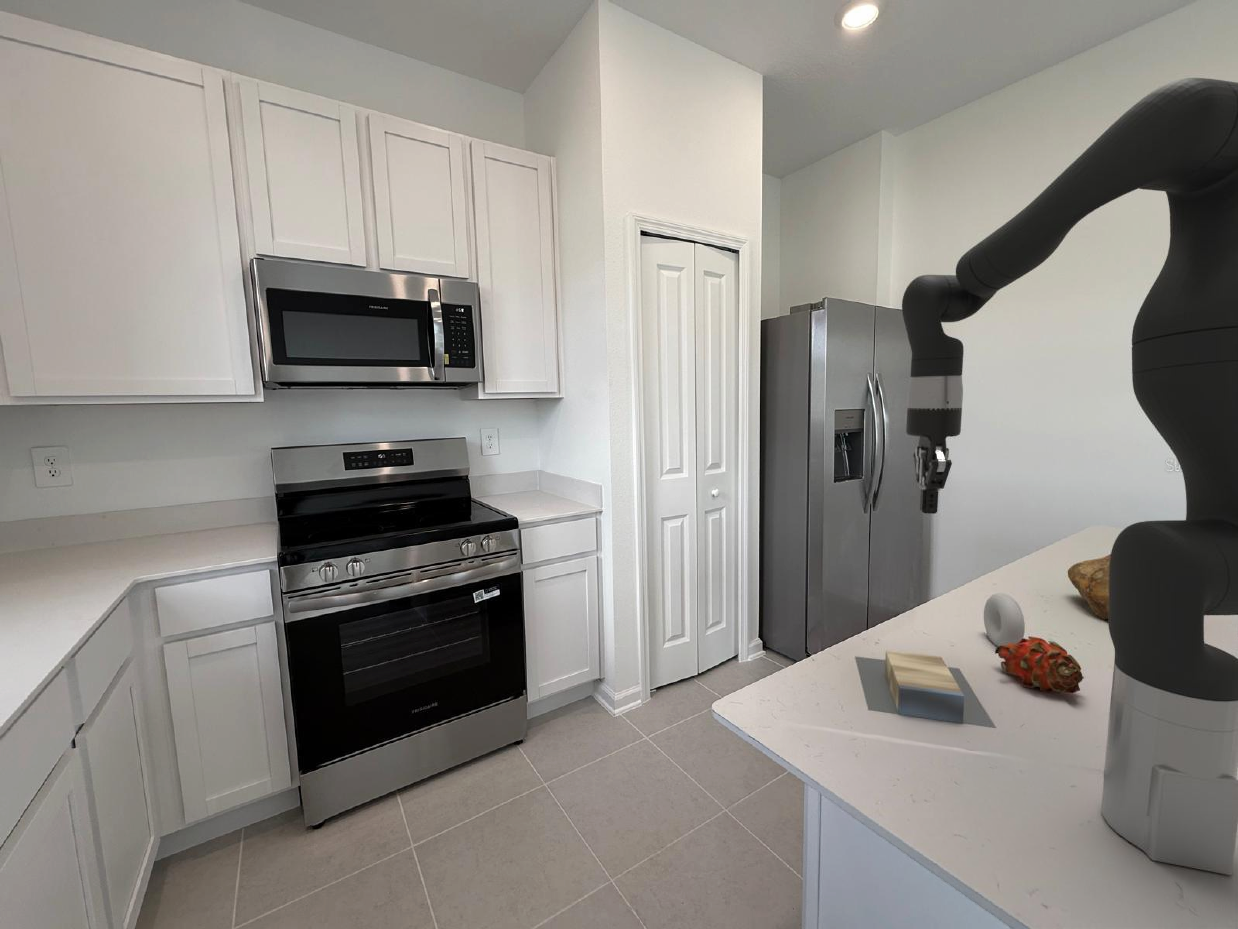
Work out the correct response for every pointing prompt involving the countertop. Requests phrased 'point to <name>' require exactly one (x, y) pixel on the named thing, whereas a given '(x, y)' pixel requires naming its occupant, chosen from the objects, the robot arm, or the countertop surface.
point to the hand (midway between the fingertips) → (928, 512)
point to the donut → (1003, 620)
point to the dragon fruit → (1041, 665)
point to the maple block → (923, 687)
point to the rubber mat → (883, 700)
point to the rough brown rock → (1093, 583)
